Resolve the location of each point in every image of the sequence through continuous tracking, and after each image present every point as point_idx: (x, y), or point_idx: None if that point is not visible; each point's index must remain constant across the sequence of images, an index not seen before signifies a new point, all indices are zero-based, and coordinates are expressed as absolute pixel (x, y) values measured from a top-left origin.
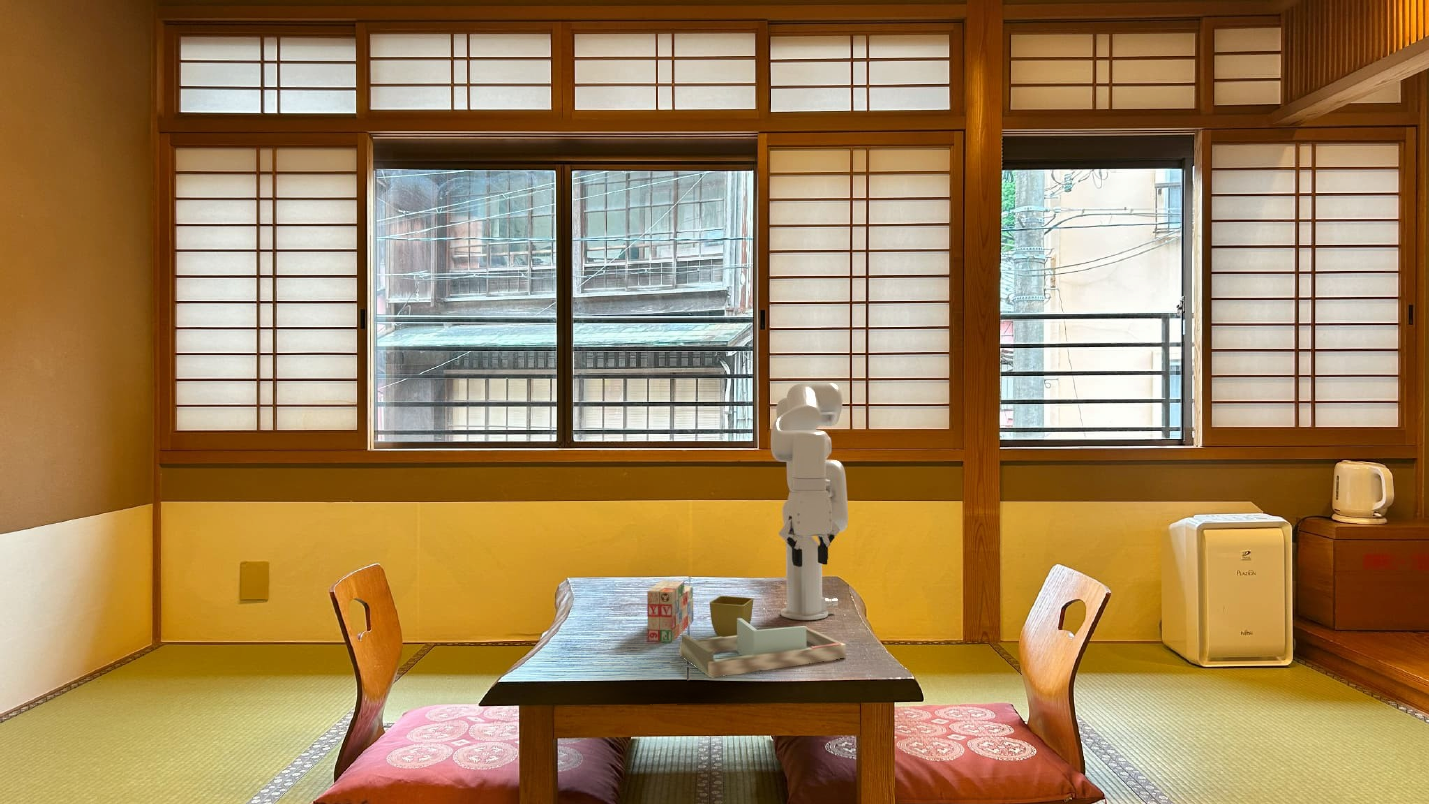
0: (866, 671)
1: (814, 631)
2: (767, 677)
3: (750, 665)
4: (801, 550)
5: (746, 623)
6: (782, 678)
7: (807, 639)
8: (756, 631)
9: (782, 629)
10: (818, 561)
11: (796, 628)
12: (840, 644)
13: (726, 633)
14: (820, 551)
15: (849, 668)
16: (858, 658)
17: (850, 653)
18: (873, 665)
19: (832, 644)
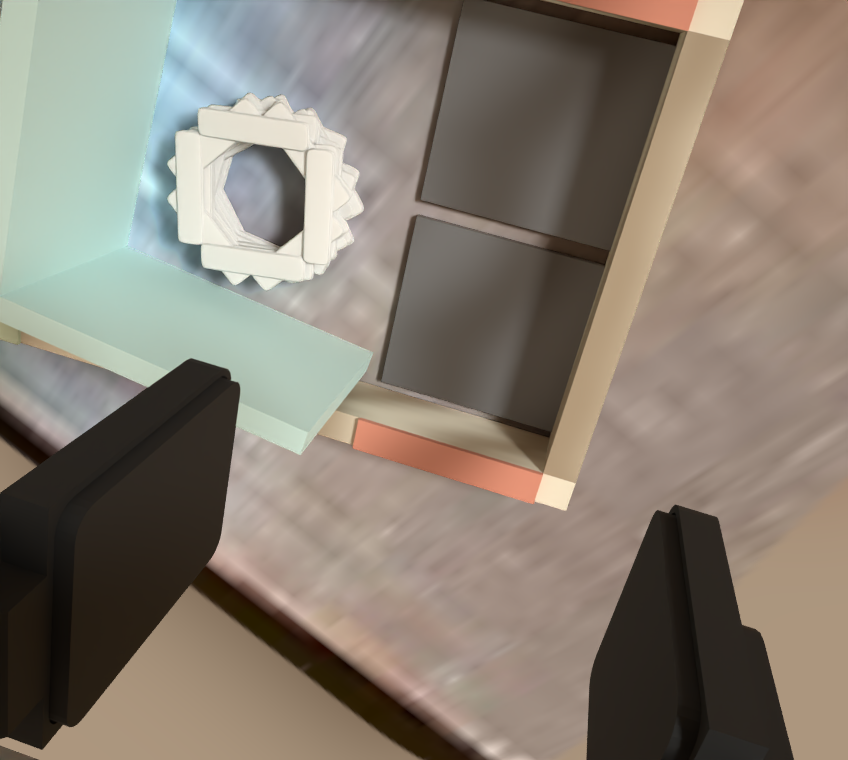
0: (480, 645)
1: (671, 160)
2: (74, 414)
3: None
4: (55, 727)
5: (9, 107)
6: None
7: (665, 82)
8: None
9: (147, 384)
10: (649, 533)
11: (238, 424)
12: (528, 502)
13: None
14: (629, 731)
15: (453, 574)
16: (621, 513)
17: (669, 431)
18: (579, 622)
19: (491, 473)
